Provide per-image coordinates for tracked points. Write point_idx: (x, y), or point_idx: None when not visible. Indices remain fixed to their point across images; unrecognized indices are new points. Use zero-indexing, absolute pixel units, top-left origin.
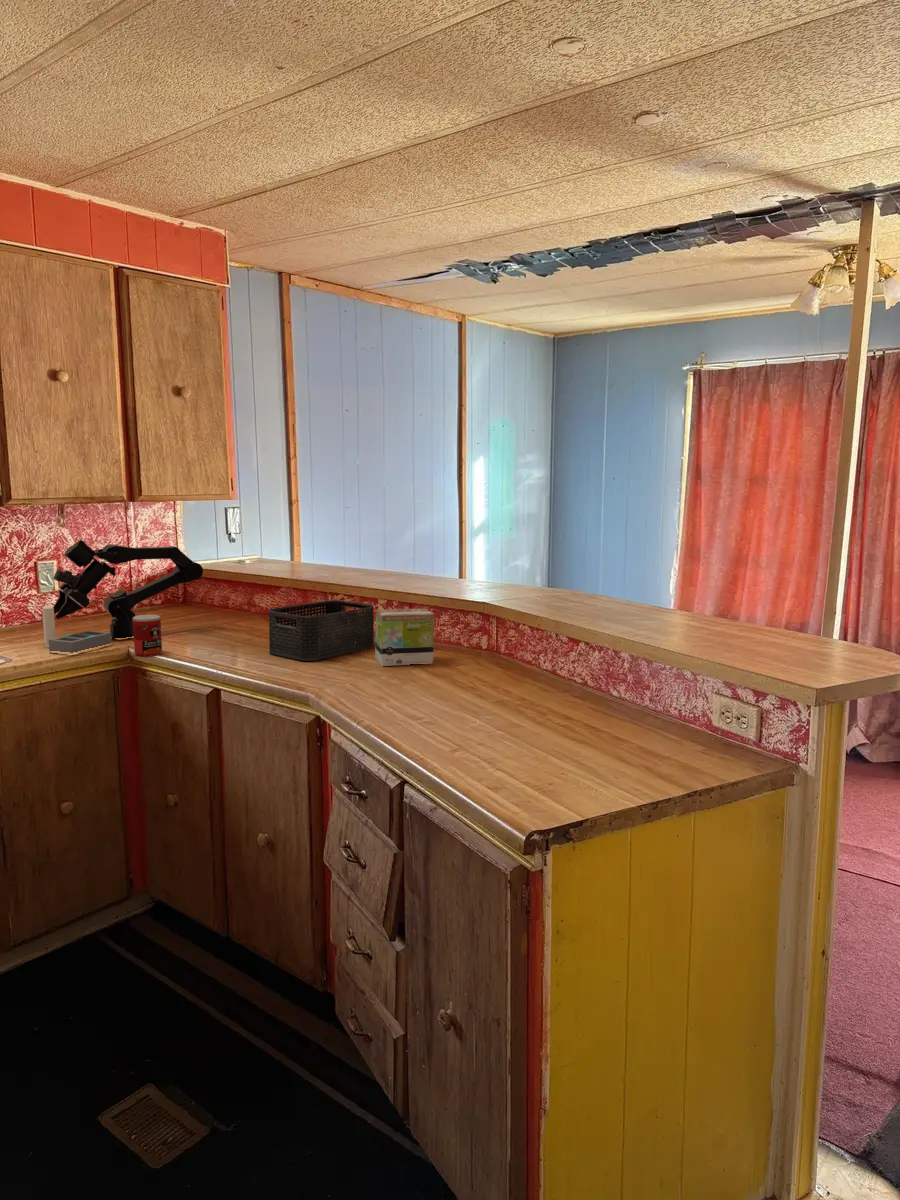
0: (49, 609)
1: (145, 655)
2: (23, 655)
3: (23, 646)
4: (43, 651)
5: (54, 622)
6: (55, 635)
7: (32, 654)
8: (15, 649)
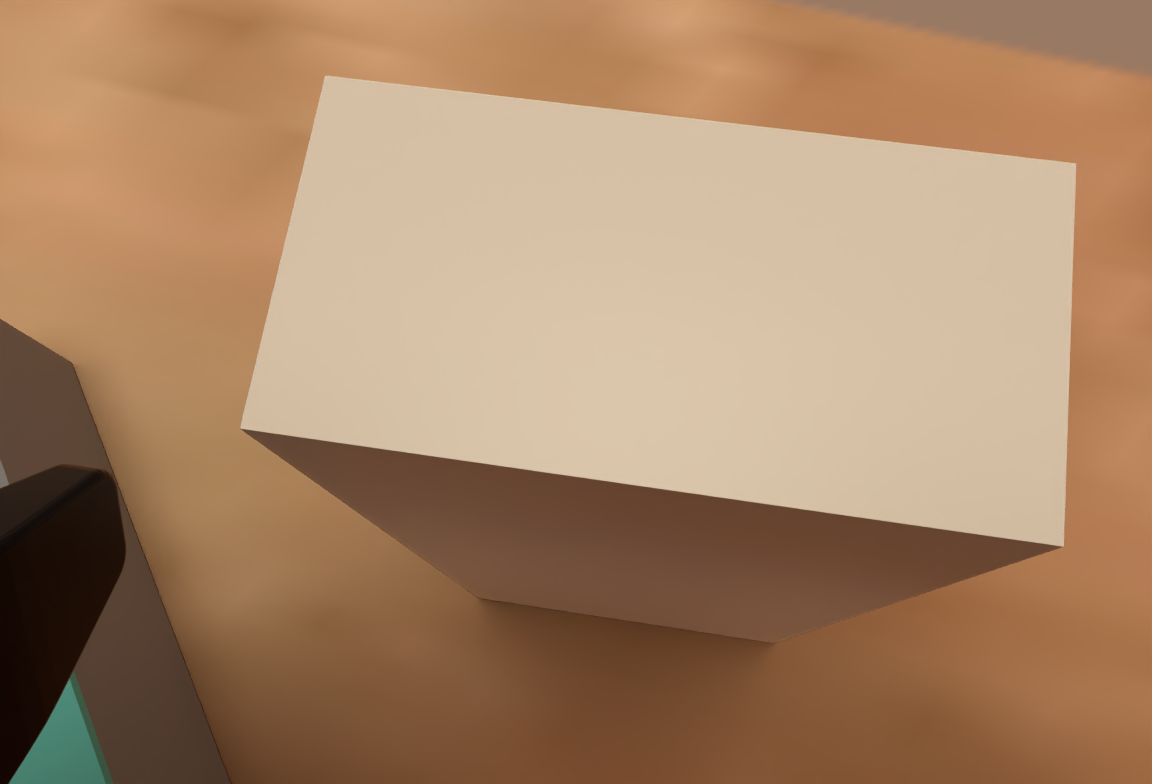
0: (303, 278)
1: None
2: (217, 49)
3: None
4: None
5: (385, 527)
6: (448, 574)
7: (190, 156)
8: (724, 63)
